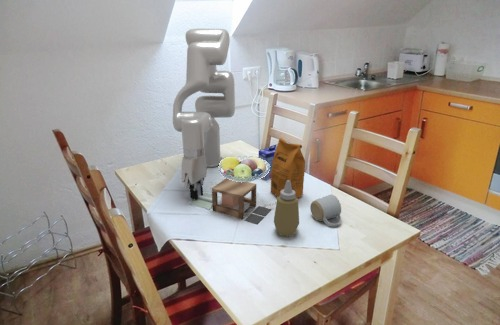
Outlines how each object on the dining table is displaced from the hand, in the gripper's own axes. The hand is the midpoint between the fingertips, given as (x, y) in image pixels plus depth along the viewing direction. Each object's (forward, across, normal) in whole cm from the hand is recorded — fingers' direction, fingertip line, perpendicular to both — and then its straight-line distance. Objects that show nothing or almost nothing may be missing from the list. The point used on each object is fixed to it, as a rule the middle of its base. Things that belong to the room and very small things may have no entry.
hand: (196, 196), depth 134 cm
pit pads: (+1, 0, +26) cm, 26 cm away
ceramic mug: (+1, -9, +48) cm, 49 cm away
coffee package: (+1, -19, +29) cm, 34 cm away
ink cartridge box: (+1, -32, +16) cm, 36 cm away
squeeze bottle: (+1, +5, +39) cm, 39 cm away
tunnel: (+1, 0, +17) cm, 17 cm away
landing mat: (+1, 0, +5) cm, 5 cm away
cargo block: (-1, 0, +15) cm, 15 cm away
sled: (0, 0, +10) cm, 10 cm away
